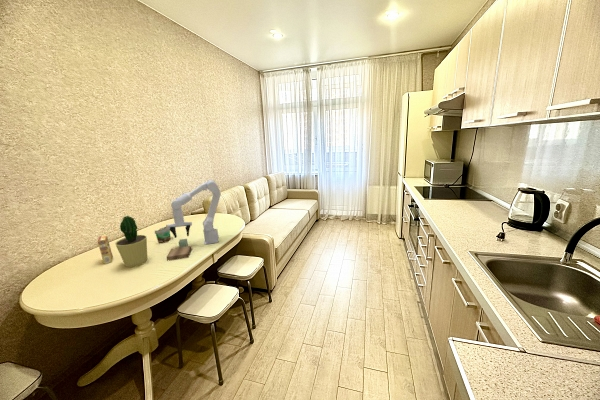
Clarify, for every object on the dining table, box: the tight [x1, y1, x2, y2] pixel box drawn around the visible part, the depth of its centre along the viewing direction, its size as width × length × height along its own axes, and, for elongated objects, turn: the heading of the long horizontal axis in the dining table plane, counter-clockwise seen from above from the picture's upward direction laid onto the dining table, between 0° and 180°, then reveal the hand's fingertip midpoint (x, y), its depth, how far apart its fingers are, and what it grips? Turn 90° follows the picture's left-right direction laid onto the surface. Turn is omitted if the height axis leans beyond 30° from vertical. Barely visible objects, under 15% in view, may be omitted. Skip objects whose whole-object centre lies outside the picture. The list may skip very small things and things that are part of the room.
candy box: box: [97, 234, 114, 265], centre depth 147 cm, size 9×4×15 cm, turn 35°
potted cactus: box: [114, 215, 148, 268], centre depth 141 cm, size 15×15×30 cm
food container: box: [154, 224, 171, 244], centre depth 175 cm, size 12×6×10 cm, turn 168°
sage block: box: [178, 238, 189, 248], centre depth 163 cm, size 4×4×5 cm
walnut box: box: [166, 245, 193, 261], centre depth 152 cm, size 12×12×3 cm
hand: (182, 236), depth 162 cm, fingers open, 7 cm apart
